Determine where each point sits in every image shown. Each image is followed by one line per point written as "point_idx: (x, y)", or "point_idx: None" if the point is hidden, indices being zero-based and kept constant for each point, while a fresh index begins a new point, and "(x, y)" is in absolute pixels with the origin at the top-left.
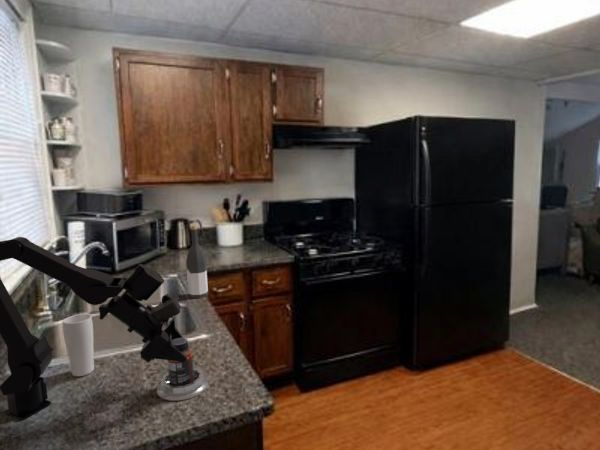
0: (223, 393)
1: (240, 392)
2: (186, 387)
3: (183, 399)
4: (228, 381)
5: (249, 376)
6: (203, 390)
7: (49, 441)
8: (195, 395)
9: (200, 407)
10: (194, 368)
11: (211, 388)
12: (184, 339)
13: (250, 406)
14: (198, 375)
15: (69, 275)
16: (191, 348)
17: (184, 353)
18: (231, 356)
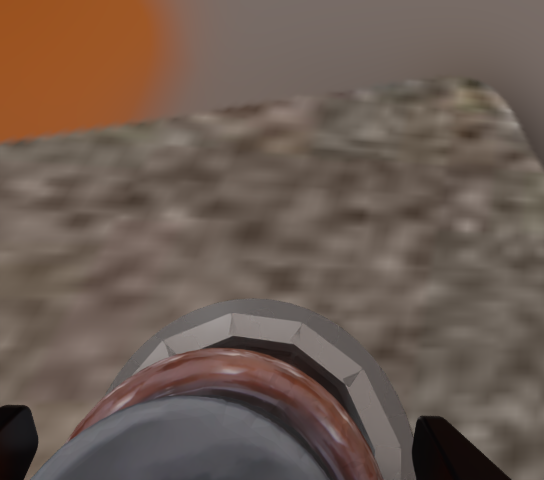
0: (380, 230)
1: (387, 159)
2: (392, 430)
3: None
4: (272, 202)
5: (257, 114)
6: (337, 328)
7: None
8: (384, 374)
9: (495, 346)
10: None
11: (317, 285)
12: (129, 465)
13: (504, 133)
14: None
15: None
16: (191, 354)
17: (351, 452)
18: (12, 173)
